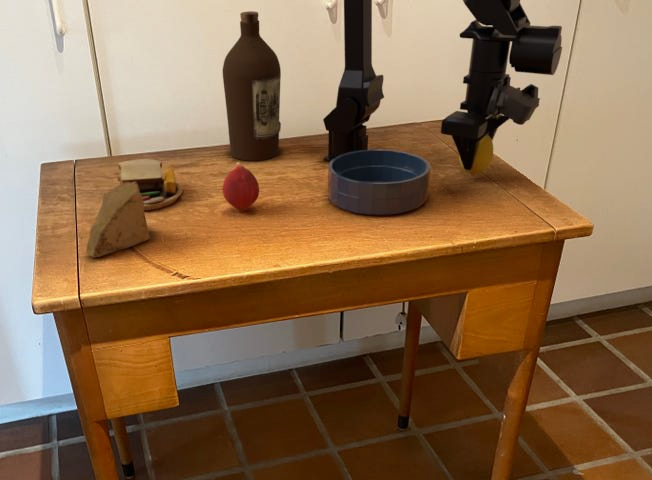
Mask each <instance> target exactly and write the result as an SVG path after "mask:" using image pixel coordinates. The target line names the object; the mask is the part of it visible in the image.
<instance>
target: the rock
mask: <svg viewBox="0 0 652 480" xmlns="http://www.w3.org/2000/svg"><path fill="white" fill-rule="evenodd" d="M116 186H117V187H116ZM116 186H115V188H114V187H113V188H114V189H113V188H111V190H109V191H108V192H107V193H105V194H103V196H102V202H101V206H100V208H99V209H98V213H97V215H96V220H95V221H94V222H93V224H92V225H91V227H90V230H89V237H88V241H87V244H86V253H87V254H88V255H89V257H91V258H93V259H95V258H100V257H103V256H104V255H108V254H112V253H115V252H117V251H120V250H123V249H124V250H125V249H128V248H131V247H133V246H135V245H138V244H140V243H143V242H146V241H149V240H150V232H149V228H148V222H147V219H146V214H145V210H144V203H143V199H142V196H141V194H140V191H139V187H138V184H137V182H136V181H134V182H132V183H130V182H126V183H122V184H120V183H119V184H118V185H116Z"/></svg>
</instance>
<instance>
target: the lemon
mask: <svg viewBox="0 0 652 480" xmlns="http://www.w3.org/2000/svg"><path fill="white" fill-rule="evenodd" d="M493 157H494V142H493V140H492V139H491V138H490V136H489V135H486V136H485V137H484V138H482V139H481V140H480V142H479V145H478V149H477V152H476V156H475V159H474V162H473V166H472V169H471V170H465V169H464V167H463V164H462V161H461V158H460V155H459V154H458V160H459V164H460V166H461V168H462V169H463V170H464V171H465V172H467V173H468V174H469V175H470V176H471V177H475V176H477V175H478V174H481V173H483V172H485V171H486V170H487V169H488V168H489V167H490V165H491V162H492V160H493Z"/></svg>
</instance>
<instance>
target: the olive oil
mask: <svg viewBox="0 0 652 480" xmlns="http://www.w3.org/2000/svg"><path fill="white" fill-rule="evenodd" d="M239 14H240V21H239V27H240V37H239V38H238V39H237V41H236V42H235V43H234V44H233V46H232V47H231V48H230V50H229V51H228V52H227V54H226V55H225V57H224V60H223V65H222V83H223V88H224V89H223V90H224V100H225V108H226V119H227V129H228V140H229V151H230V155H231V157H233V158H234V159H237V160H241V161H245V162H247V161H248V162H258V161H265V160H270V159H272V158H275V157H276V156H277V155H279V152H280V132H281V130H282V129H281V127H282V123H281V121H280V110H281V107H280V106H281V81H282V80H281V79H282V78H281V76H282V75H281V74H282V73H281V70H282V69H281V64H280V61H279V58H278V55H277V54H276V52H275V51H274V50H273V49H272V48H271V46H270V45H269V44H268V43H267V42H266V41H265V40H264V39H263V37H262V36H261V34H260V20H259V12H258V11H255V10H253V11H251V10H250V11H249V10H248V11H243V12H240V13H239Z"/></svg>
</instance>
